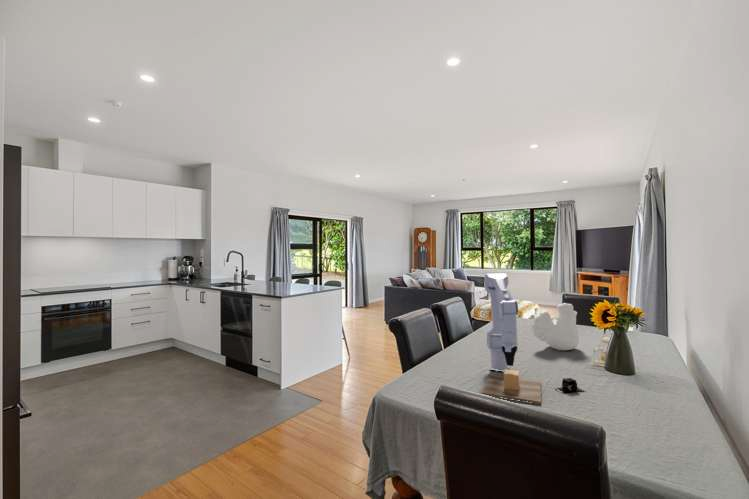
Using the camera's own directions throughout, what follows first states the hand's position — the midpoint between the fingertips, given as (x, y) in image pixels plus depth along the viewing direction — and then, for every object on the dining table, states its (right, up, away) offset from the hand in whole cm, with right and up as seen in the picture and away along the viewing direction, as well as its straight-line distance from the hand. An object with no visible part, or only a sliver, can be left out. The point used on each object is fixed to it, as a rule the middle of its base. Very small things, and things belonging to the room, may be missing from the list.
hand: (510, 365), depth 131 cm
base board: (+1, -9, -1) cm, 9 cm away
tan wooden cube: (0, -8, -1) cm, 8 cm away
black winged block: (+22, -10, -2) cm, 24 cm away
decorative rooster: (+45, -9, +51) cm, 68 cm away
